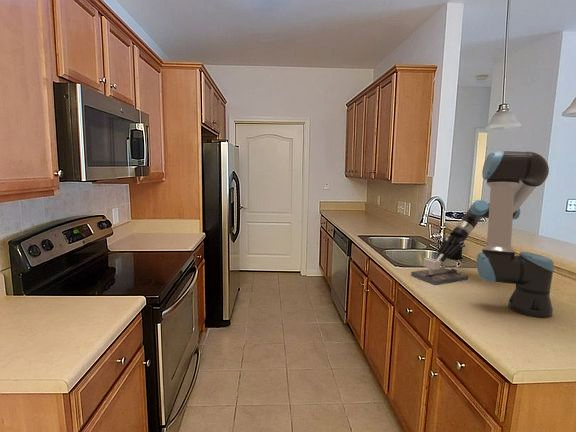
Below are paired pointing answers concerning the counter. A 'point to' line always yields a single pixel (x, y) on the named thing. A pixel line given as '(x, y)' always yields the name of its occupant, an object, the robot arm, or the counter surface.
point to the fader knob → (431, 264)
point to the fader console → (440, 276)
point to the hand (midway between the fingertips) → (436, 265)
